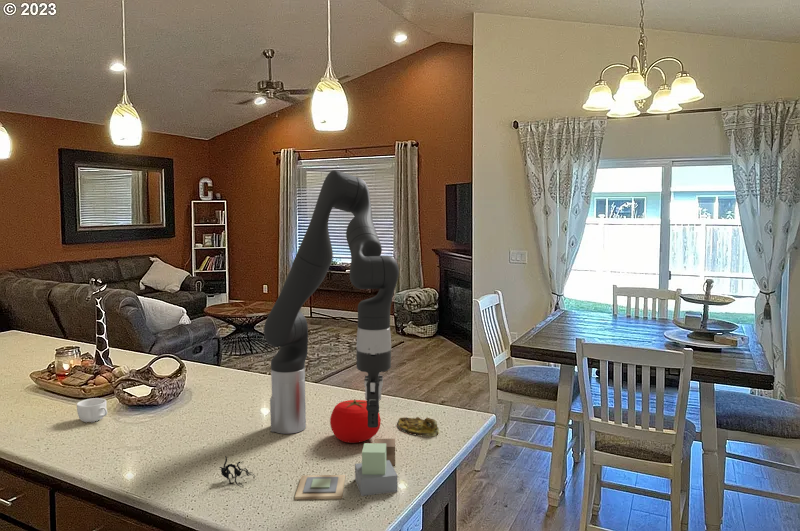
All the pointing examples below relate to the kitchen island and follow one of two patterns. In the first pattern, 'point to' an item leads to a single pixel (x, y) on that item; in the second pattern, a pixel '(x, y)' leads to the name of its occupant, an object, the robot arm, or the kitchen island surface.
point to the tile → (321, 487)
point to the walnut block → (388, 449)
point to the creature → (225, 470)
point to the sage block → (374, 459)
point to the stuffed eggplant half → (419, 426)
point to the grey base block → (376, 481)
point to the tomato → (352, 421)
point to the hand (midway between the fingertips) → (373, 419)
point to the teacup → (92, 409)
